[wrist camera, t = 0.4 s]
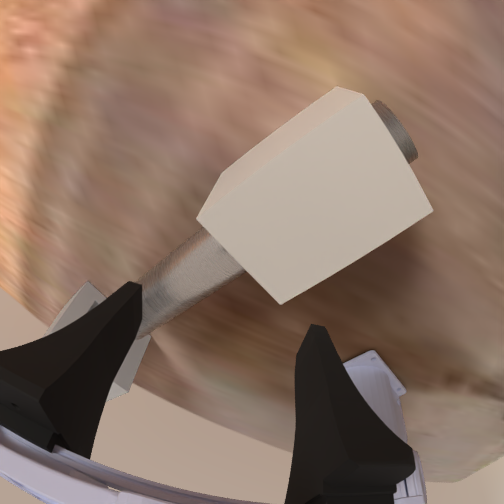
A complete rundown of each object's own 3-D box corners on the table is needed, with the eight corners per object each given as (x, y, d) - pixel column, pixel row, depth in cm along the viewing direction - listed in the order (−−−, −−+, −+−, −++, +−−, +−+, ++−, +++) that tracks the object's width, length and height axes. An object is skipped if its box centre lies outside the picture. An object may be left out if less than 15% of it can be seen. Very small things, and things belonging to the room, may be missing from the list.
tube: (402, 148, 17) (426, 167, 14) (153, 317, 25) (138, 349, 22) (369, 97, 15) (389, 103, 12) (120, 288, 24) (101, 319, 21)
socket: (151, 336, 29) (128, 392, 24) (122, 354, 31) (99, 404, 26) (87, 280, 26) (51, 331, 21) (64, 305, 29) (32, 352, 23)
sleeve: (391, 166, 19) (433, 210, 13) (282, 240, 23) (280, 305, 17) (336, 86, 17) (363, 94, 11) (222, 172, 20) (196, 219, 15)
